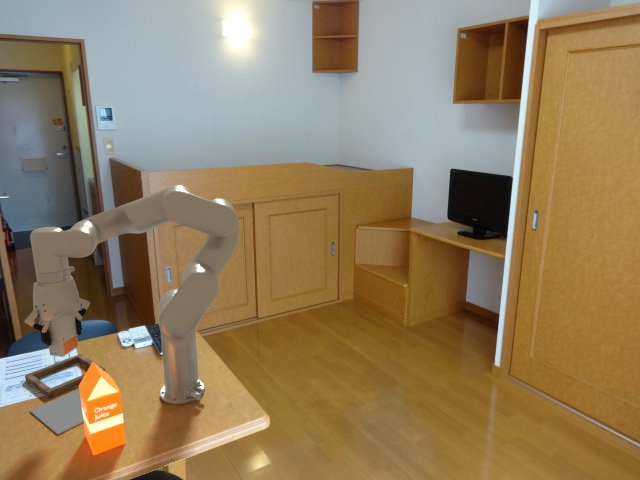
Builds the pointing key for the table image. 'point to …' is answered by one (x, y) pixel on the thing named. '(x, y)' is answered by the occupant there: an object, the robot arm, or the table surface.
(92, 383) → the orange juice
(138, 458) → the table surface
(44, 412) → the rubber mat
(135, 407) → the table surface
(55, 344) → the skincare box
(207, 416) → the table surface
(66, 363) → the brown square frame
